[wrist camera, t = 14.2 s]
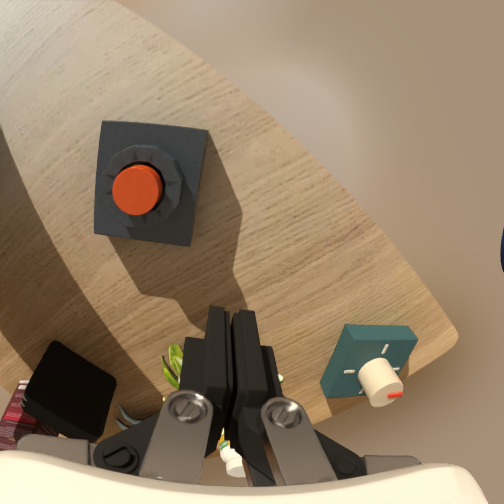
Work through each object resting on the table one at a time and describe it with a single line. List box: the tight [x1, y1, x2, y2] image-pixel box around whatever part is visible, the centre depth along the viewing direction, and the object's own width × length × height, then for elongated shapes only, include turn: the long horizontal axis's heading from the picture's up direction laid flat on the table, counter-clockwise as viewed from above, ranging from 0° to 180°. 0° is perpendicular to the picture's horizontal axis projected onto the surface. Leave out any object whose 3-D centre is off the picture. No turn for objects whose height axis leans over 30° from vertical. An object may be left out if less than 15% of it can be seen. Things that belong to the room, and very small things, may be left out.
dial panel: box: [320, 324, 418, 398], centre depth 35 cm, size 10×10×3 cm
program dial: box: [358, 358, 403, 407], centre depth 32 cm, size 4×4×5 cm
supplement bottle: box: [220, 435, 246, 477], centre depth 35 cm, size 5×5×10 cm
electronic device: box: [20, 341, 116, 443], centre depth 29 cm, size 4×10×10 cm, turn 49°
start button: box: [112, 165, 163, 215], centre depth 21 cm, size 4×4×2 cm
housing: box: [94, 120, 209, 247], centre depth 24 cm, size 10×9×4 cm
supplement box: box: [0, 380, 59, 451], centre depth 27 cm, size 9×5×16 cm, turn 98°
